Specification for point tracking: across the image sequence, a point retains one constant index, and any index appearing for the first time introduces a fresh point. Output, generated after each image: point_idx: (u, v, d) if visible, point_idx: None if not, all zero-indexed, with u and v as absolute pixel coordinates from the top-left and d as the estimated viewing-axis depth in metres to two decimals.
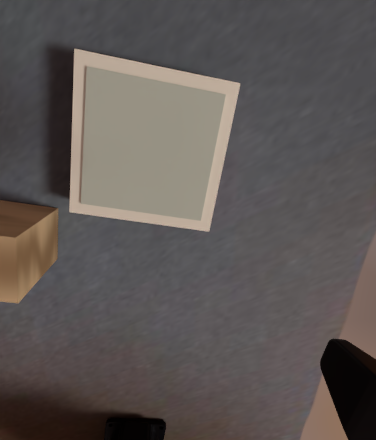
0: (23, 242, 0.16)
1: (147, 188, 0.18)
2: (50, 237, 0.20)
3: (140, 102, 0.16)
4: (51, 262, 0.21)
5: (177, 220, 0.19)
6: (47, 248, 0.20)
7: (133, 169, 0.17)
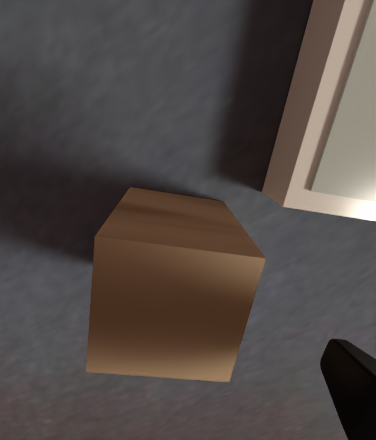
0: None
1: None
2: None
3: None
4: None
5: None
6: None
7: None
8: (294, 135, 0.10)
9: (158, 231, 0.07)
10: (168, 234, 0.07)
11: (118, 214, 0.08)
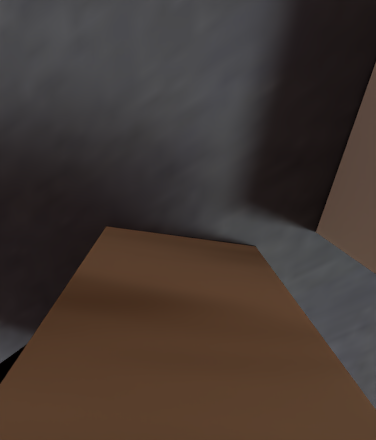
0: None
1: None
2: None
3: None
4: None
5: None
6: None
7: None
8: None
9: (141, 413, 0.03)
10: (170, 422, 0.03)
11: (53, 330, 0.04)
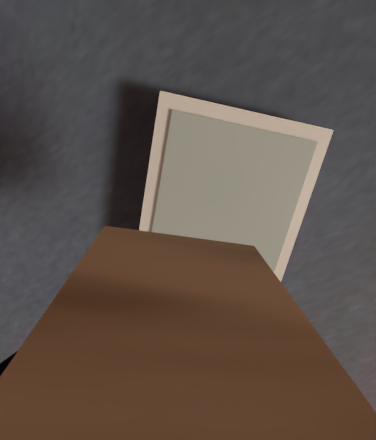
0: None
1: (221, 237, 0.16)
2: None
3: (225, 148, 0.14)
4: None
5: None
6: None
7: (209, 217, 0.16)
8: None
9: (137, 411, 0.03)
10: (167, 420, 0.03)
11: (50, 329, 0.04)
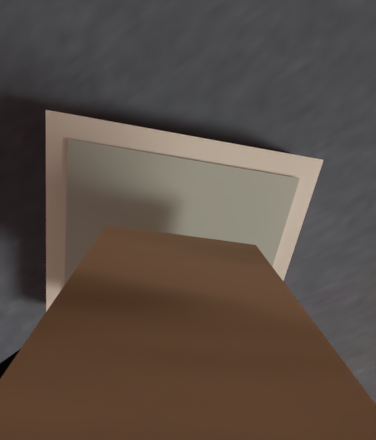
0: None
1: None
2: None
3: (158, 193, 0.10)
4: None
5: None
6: None
7: None
8: None
9: (140, 410, 0.03)
10: (170, 420, 0.03)
11: (52, 328, 0.04)
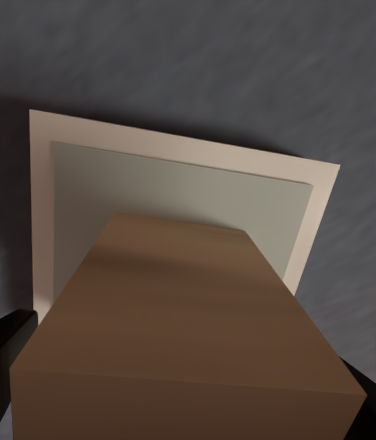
0: None
1: None
2: None
3: (157, 202, 0.09)
4: None
5: None
6: None
7: None
8: None
9: (150, 327, 0.04)
10: (171, 333, 0.04)
11: (83, 279, 0.05)
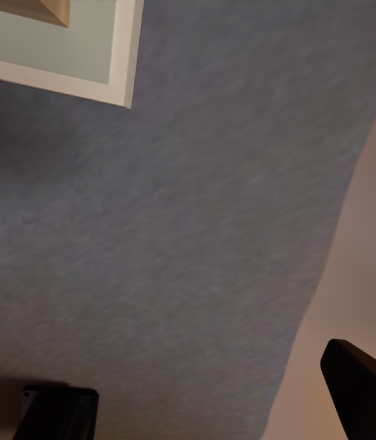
0: None
1: (21, 21, 0.12)
2: None
3: None
4: (58, 10, 0.11)
5: (74, 83, 0.13)
6: None
7: None
8: None
9: None
10: None
11: None
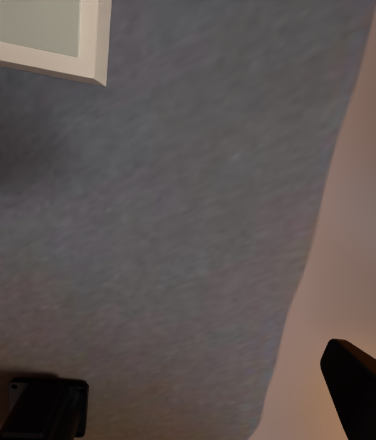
0: None
1: None
2: None
3: None
4: None
5: (43, 56, 0.13)
6: None
7: None
8: None
9: None
10: None
11: None
